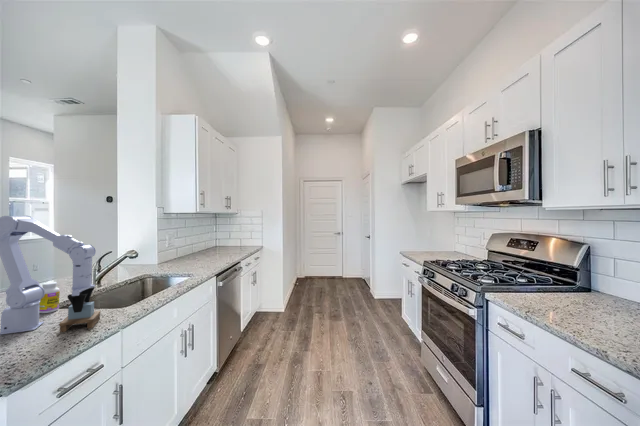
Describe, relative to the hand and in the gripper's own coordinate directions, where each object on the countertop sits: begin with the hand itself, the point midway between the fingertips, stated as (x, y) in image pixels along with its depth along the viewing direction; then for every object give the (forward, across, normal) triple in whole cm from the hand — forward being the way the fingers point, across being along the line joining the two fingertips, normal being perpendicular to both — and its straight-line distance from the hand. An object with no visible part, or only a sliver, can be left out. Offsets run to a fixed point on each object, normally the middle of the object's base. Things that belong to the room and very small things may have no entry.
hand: (81, 308), depth 107 cm
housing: (+3, 0, 0) cm, 3 cm away
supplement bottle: (+7, +25, +18) cm, 32 cm away
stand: (+7, 0, 0) cm, 7 cm away
